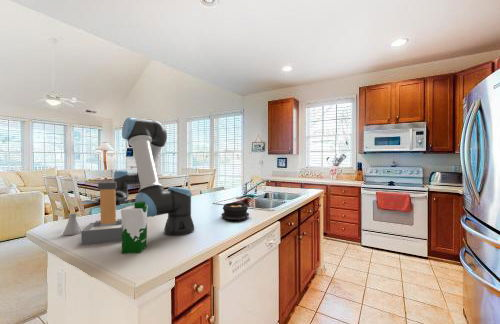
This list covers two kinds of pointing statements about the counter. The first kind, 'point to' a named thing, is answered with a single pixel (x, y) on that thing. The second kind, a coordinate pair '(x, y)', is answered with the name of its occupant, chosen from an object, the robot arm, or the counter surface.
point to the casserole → (235, 211)
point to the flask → (72, 225)
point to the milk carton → (134, 228)
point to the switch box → (102, 232)
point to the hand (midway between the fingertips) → (107, 205)
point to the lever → (107, 202)
